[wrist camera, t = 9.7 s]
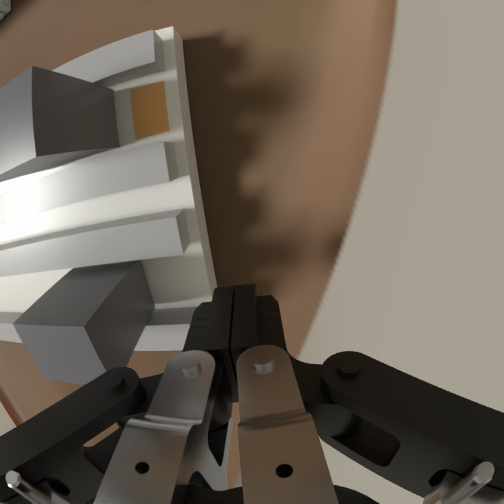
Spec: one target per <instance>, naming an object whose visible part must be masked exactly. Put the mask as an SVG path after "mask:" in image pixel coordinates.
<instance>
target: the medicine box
mask: <svg viewBox="0 0 504 504" xmlns="http://www.w3.org/2000/svg"><path fill="white" fill-rule="evenodd" d="M10 10H11V0H0V21H1V20H2V19H3V17H4V16H5V15H6V14H7V13H8V12H10Z"/></svg>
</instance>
